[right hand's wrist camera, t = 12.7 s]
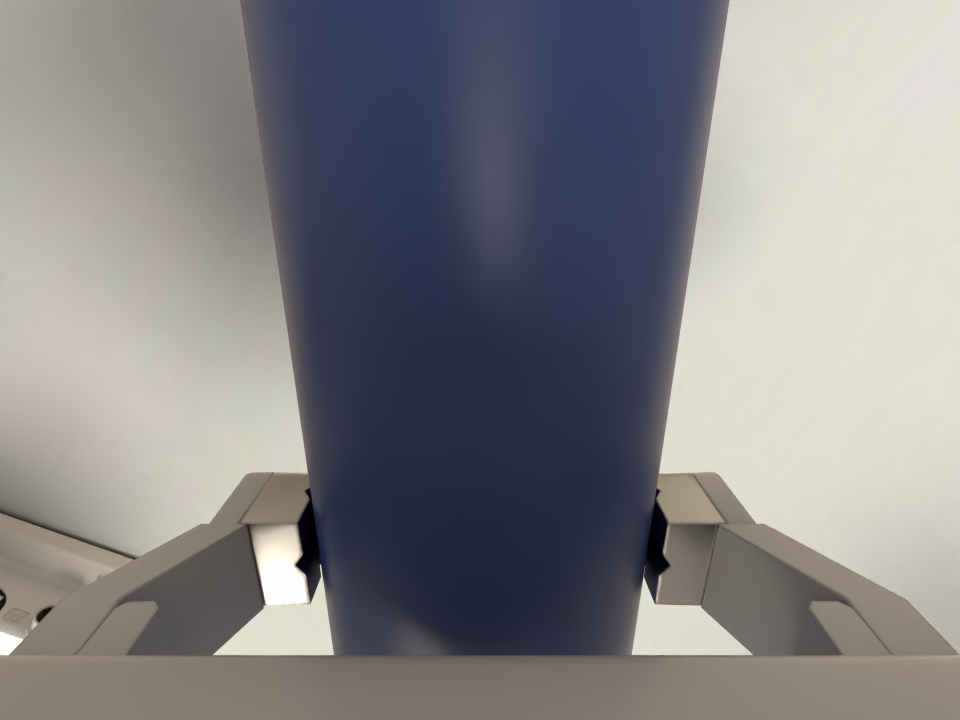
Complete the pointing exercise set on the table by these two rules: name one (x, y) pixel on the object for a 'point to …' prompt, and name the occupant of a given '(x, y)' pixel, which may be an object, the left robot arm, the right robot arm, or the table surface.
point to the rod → (483, 300)
